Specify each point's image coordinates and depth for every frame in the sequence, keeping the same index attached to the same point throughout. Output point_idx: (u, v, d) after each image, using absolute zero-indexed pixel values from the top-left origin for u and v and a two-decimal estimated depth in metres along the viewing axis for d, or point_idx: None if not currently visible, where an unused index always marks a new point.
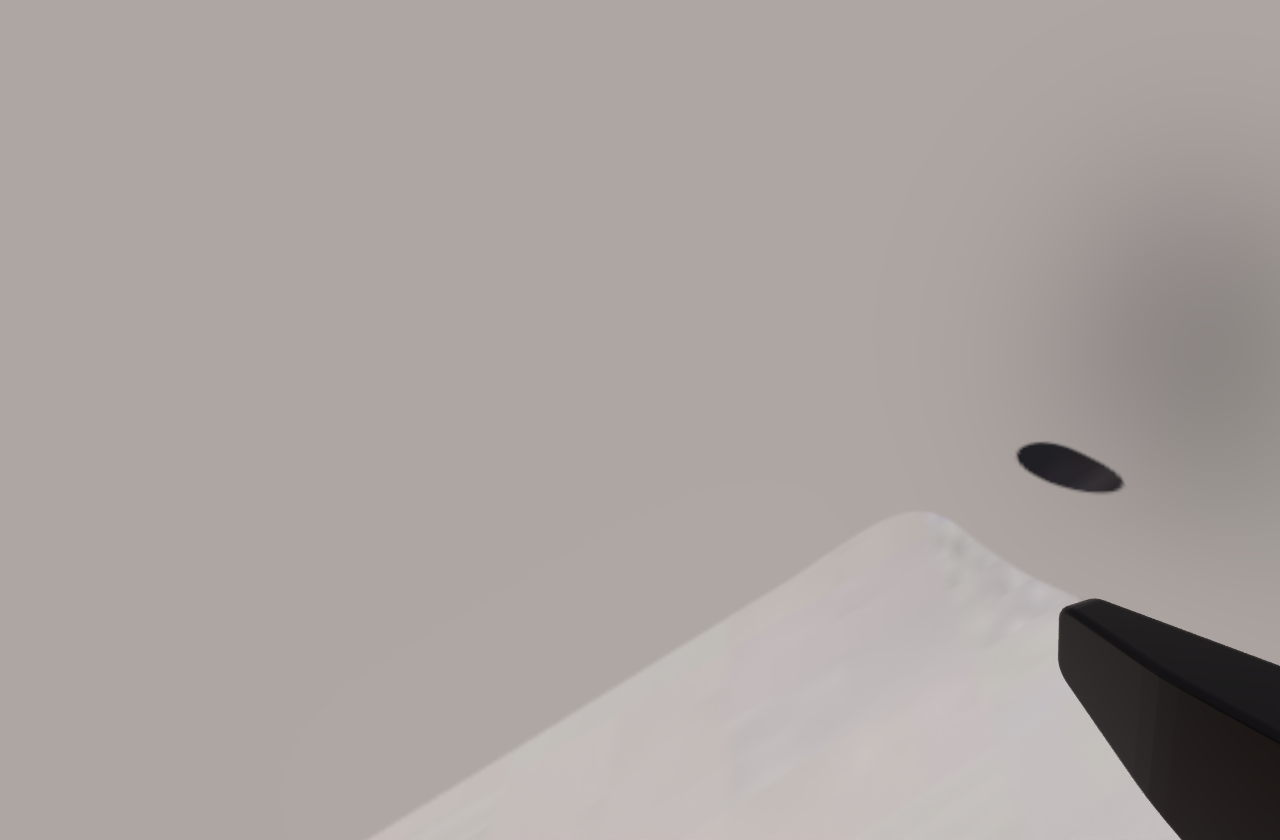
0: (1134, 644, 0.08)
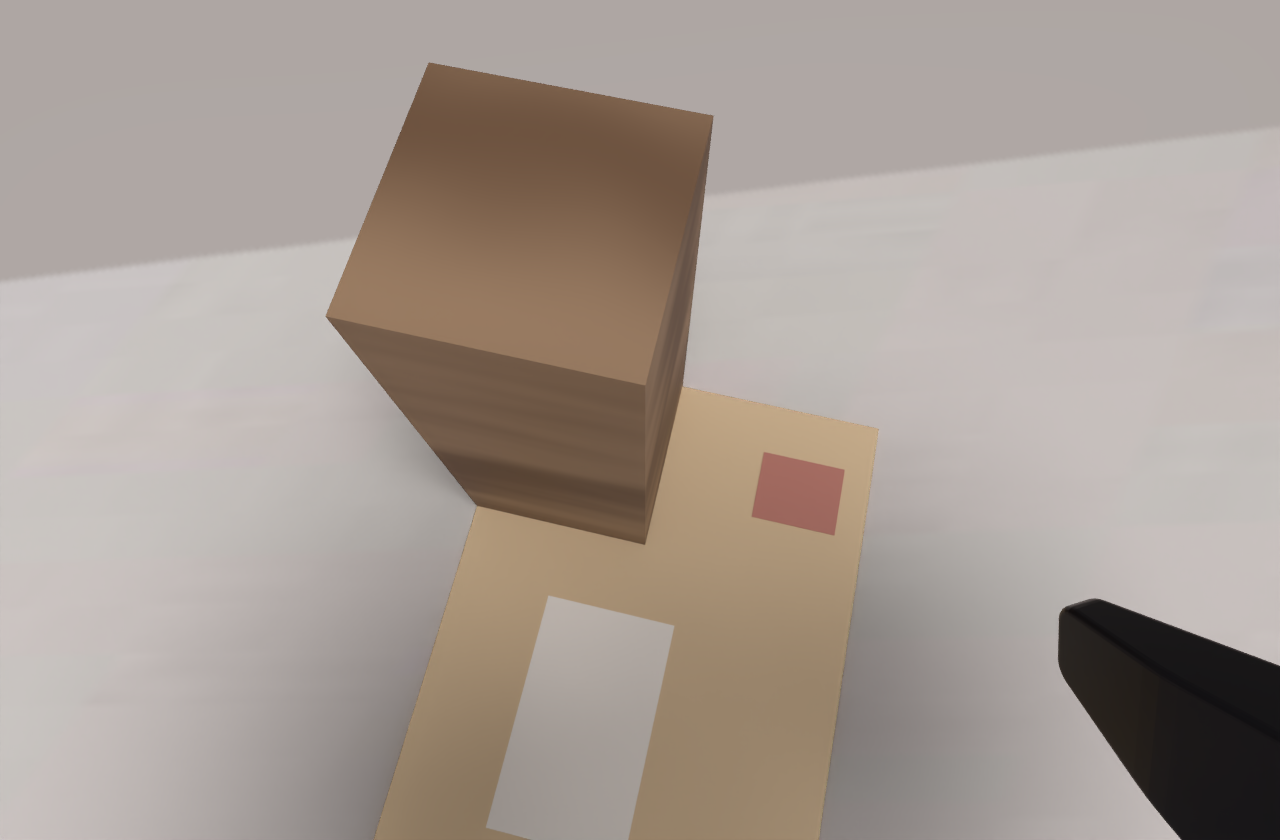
0: (1134, 645, 0.08)
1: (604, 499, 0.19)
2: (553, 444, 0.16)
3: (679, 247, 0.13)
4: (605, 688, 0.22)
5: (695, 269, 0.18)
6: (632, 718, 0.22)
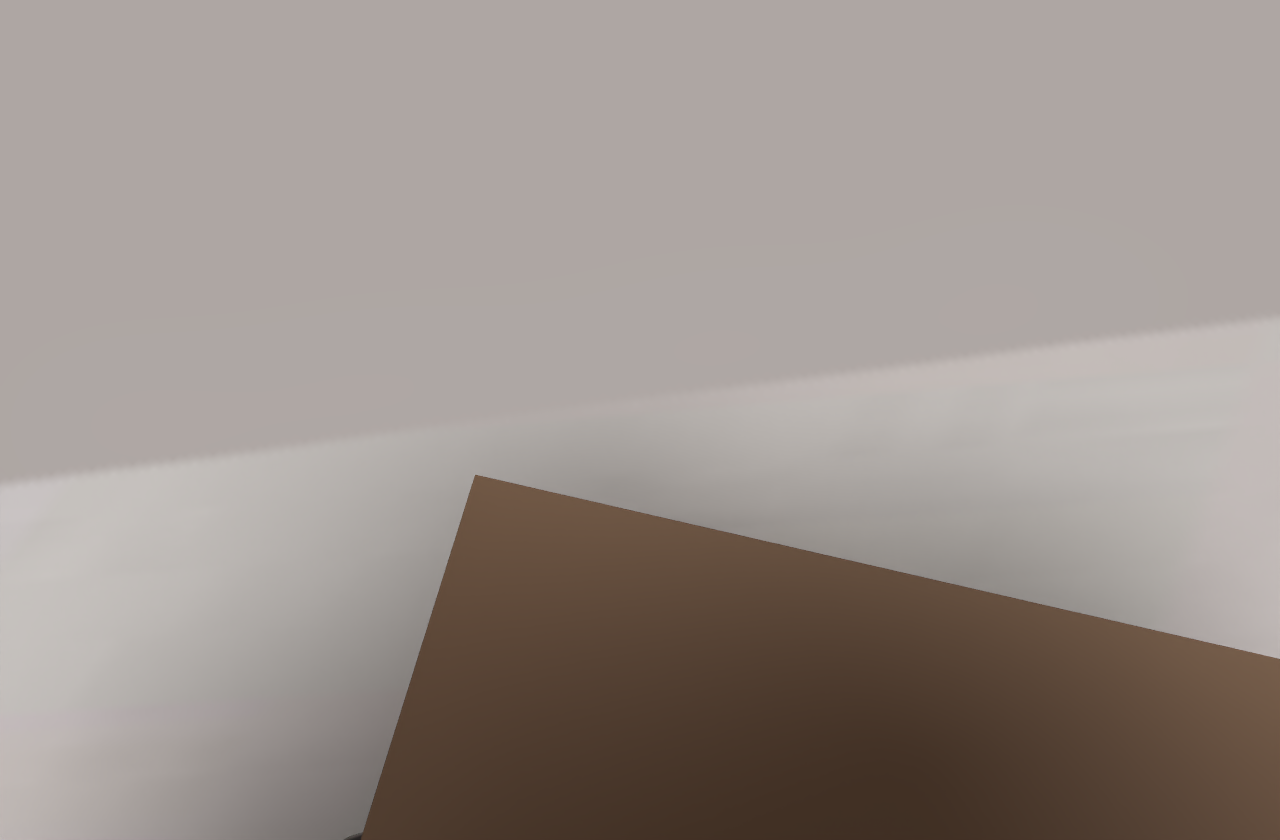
0: None
1: None
2: None
3: None
4: None
5: None
6: None
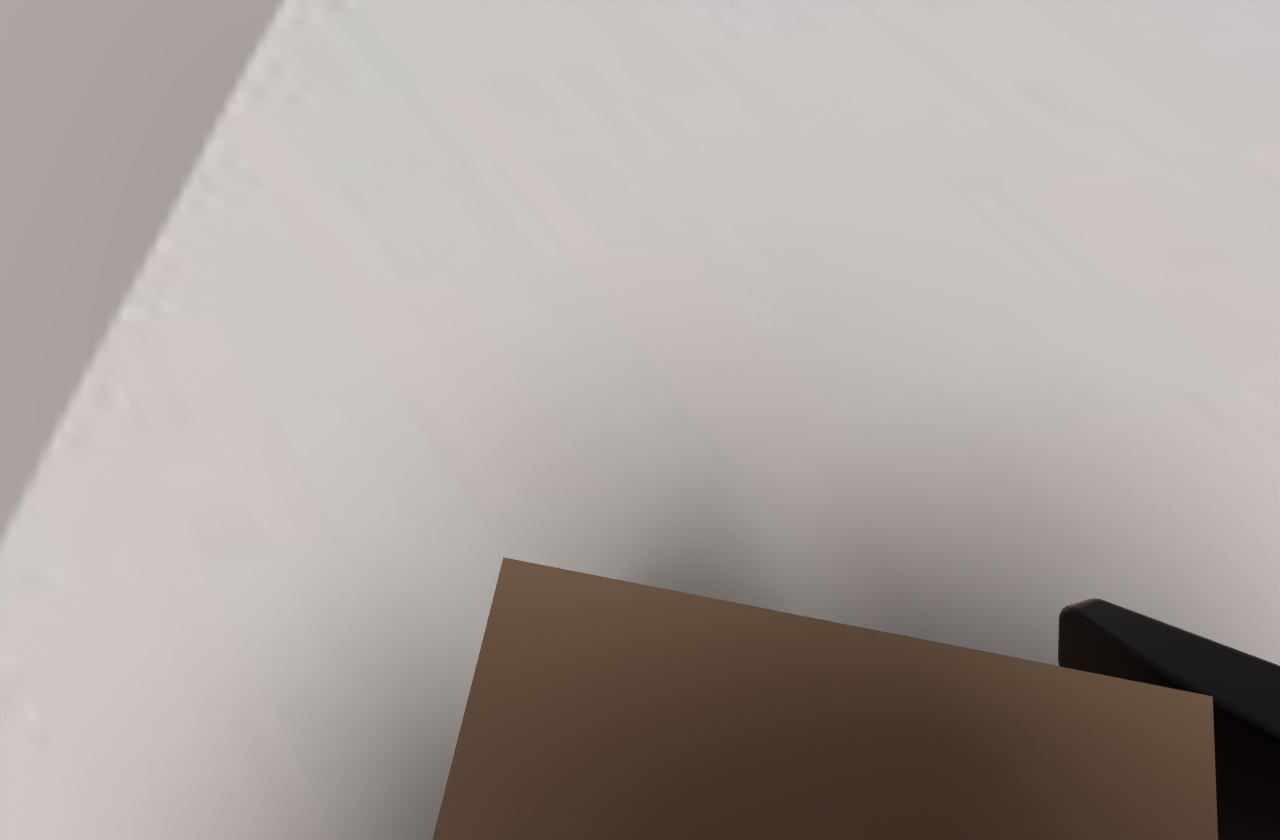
0: (1134, 644, 0.08)
1: None
2: None
3: None
4: None
5: None
6: None
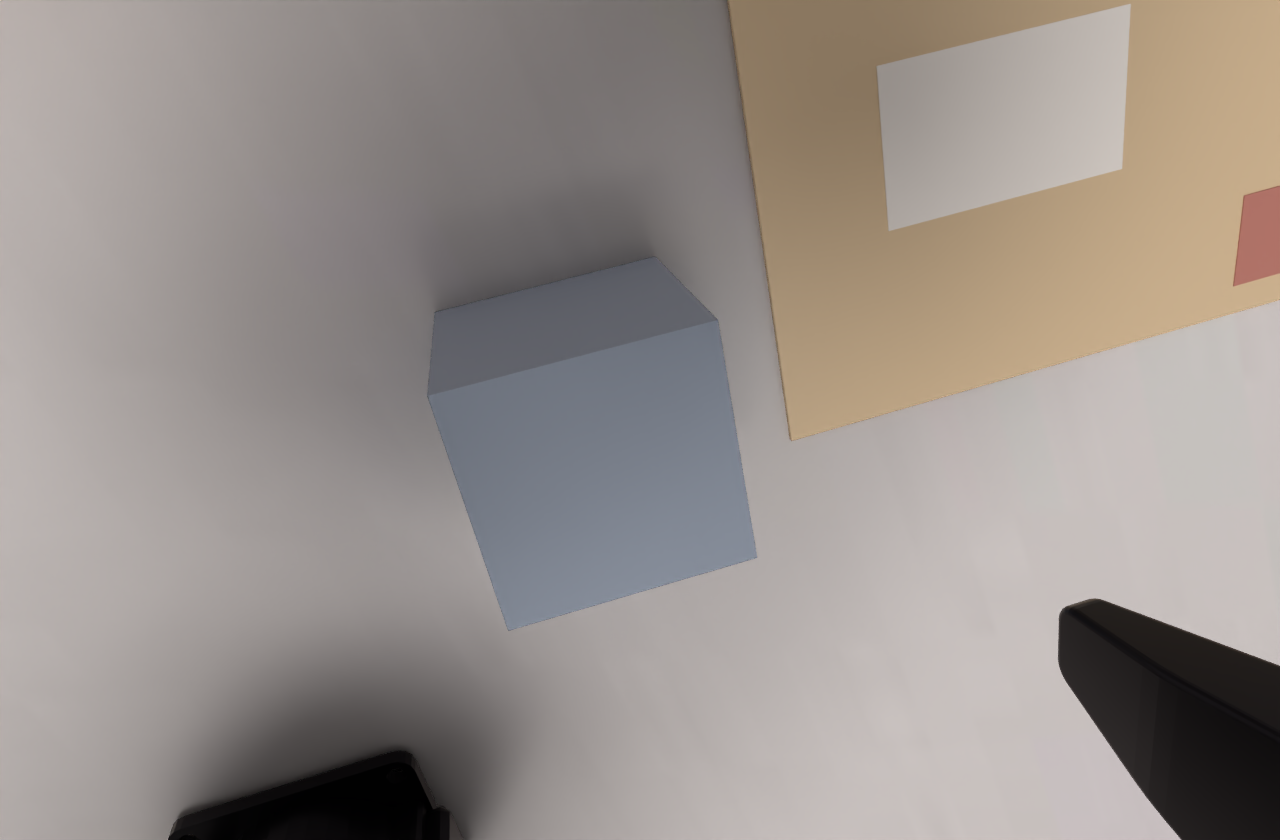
0: (1134, 644, 0.08)
1: None
2: None
3: None
4: (1045, 126, 0.19)
5: None
6: (1022, 171, 0.19)
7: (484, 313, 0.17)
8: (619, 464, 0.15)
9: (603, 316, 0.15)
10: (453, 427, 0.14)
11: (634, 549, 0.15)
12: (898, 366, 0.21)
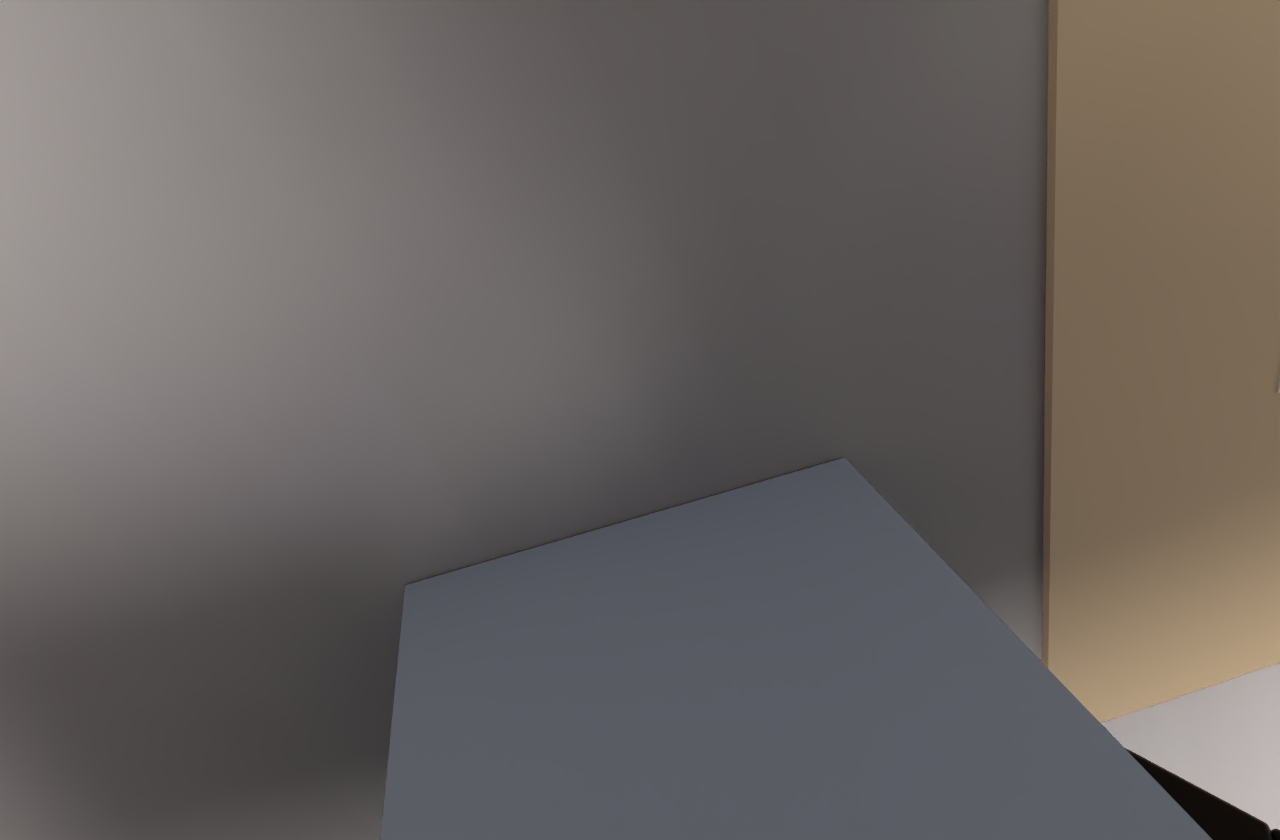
0: None
1: None
2: None
3: None
4: None
5: None
6: None
7: (509, 621, 0.08)
8: None
9: (811, 712, 0.06)
10: None
11: None
12: (1244, 613, 0.11)
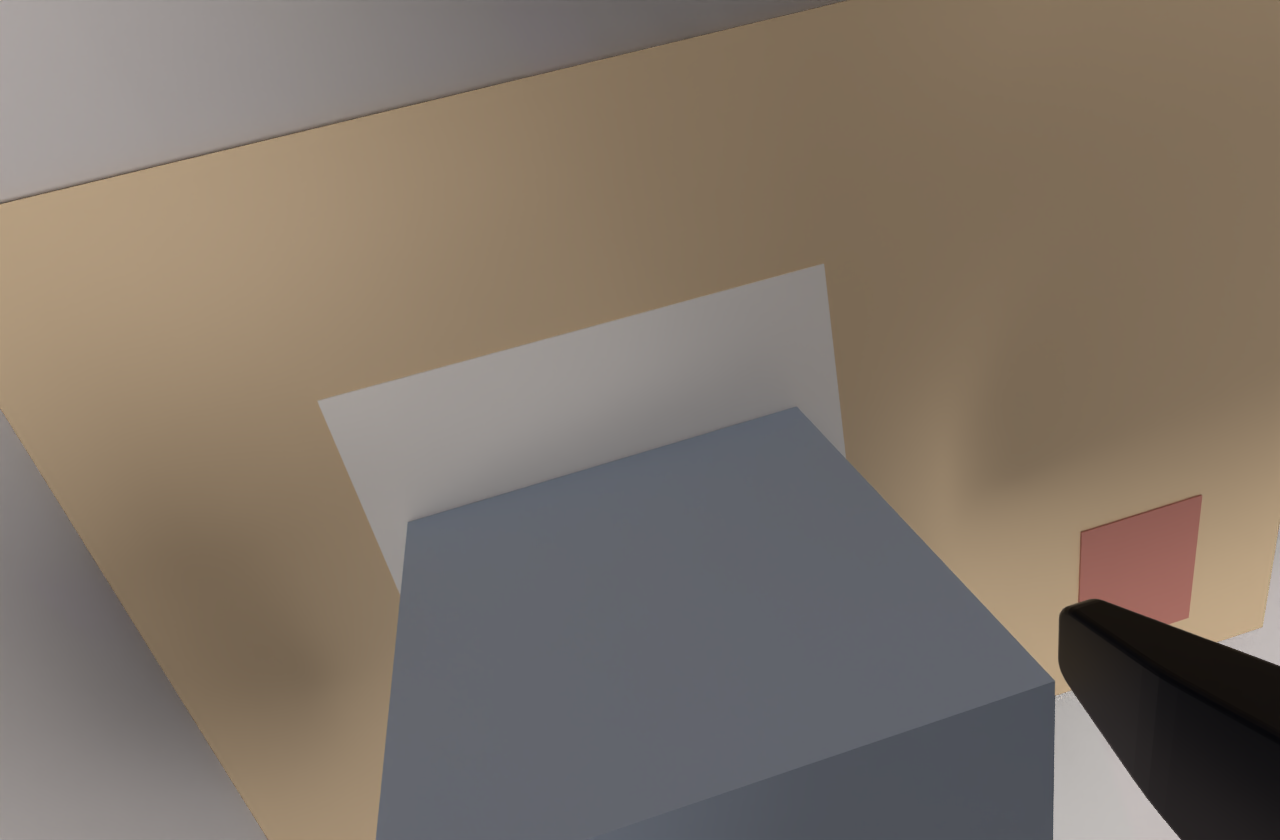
0: (1134, 644, 0.08)
1: None
2: None
3: None
4: None
5: None
6: None
7: (498, 547, 0.09)
8: None
9: (748, 604, 0.07)
10: None
11: None
12: None
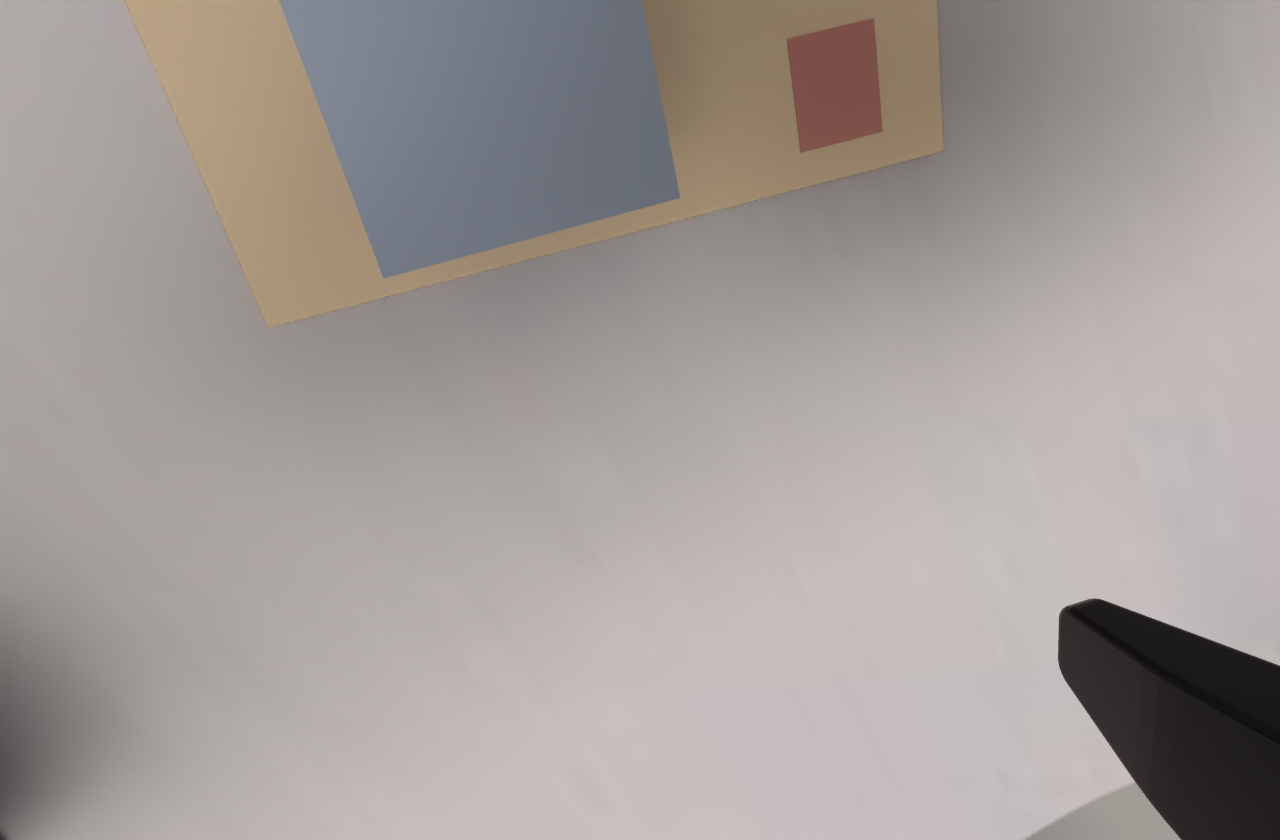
0: (1134, 644, 0.08)
1: None
2: None
3: None
4: None
5: None
6: None
7: None
8: (502, 48, 0.12)
9: None
10: None
11: (529, 173, 0.13)
12: None
